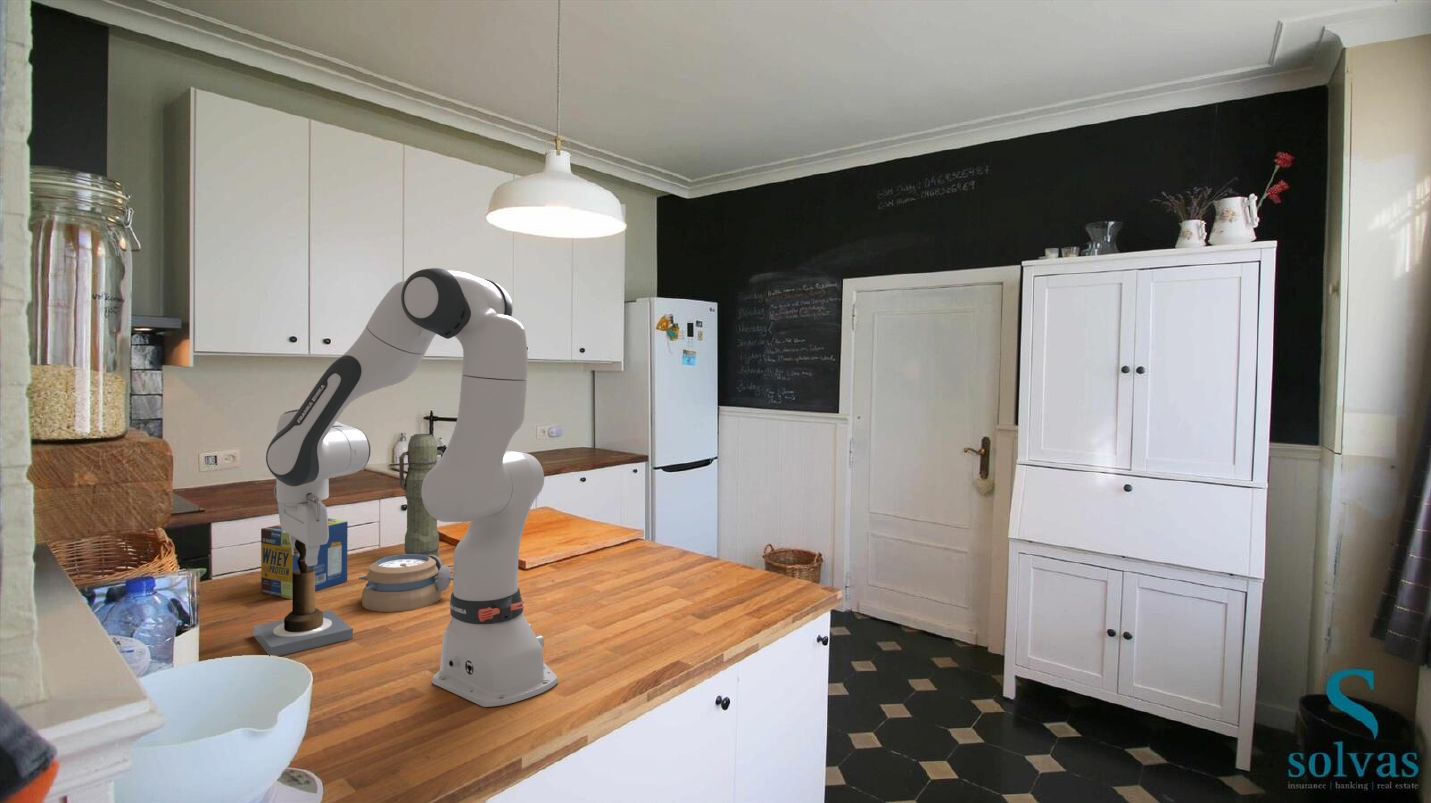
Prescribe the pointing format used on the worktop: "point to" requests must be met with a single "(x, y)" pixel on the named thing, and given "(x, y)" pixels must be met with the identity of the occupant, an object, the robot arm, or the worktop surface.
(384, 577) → the alarm clock
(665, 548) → the worktop surface
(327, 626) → the slate plate
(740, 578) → the worktop surface
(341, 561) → the protein box
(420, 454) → the thermos
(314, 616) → the brown tall post-shaped piece
